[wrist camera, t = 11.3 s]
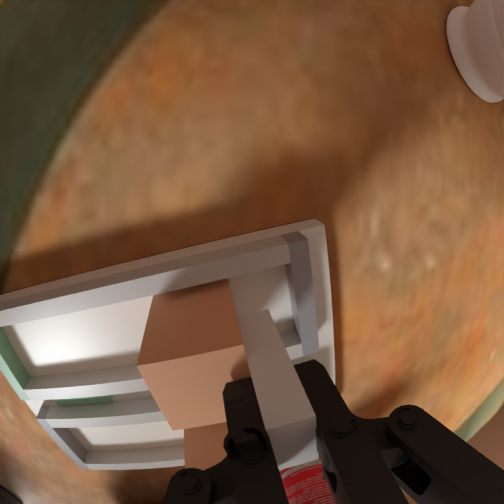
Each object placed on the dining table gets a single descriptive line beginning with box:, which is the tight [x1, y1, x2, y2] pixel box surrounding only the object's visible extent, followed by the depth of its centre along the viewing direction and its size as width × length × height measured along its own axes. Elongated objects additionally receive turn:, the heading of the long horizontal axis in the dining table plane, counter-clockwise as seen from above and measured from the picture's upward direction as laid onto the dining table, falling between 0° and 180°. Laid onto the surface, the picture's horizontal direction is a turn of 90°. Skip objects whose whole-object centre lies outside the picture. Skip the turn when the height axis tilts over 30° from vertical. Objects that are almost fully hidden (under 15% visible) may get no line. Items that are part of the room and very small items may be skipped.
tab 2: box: [184, 422, 228, 470], centre depth 17 cm, size 4×4×6 cm
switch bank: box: [0, 219, 335, 470], centre depth 18 cm, size 24×16×3 cm, turn 100°
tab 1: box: [137, 278, 251, 430], centre depth 14 cm, size 4×4×6 cm
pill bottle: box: [279, 454, 336, 504], centre depth 21 cm, size 6×6×11 cm
